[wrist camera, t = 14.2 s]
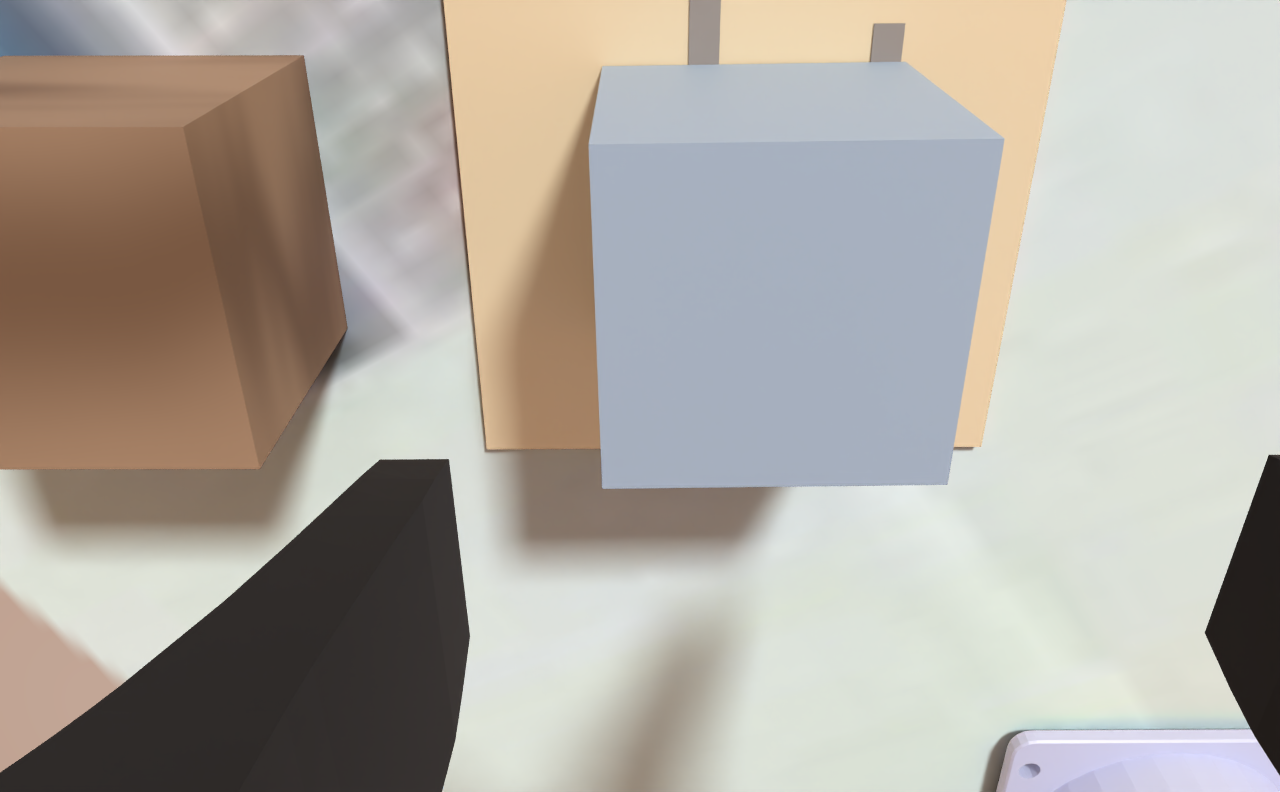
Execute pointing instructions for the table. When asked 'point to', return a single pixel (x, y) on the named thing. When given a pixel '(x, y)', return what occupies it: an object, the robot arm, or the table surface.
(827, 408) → the cube
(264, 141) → the walnut block
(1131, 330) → the table surface
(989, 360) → the envelope
